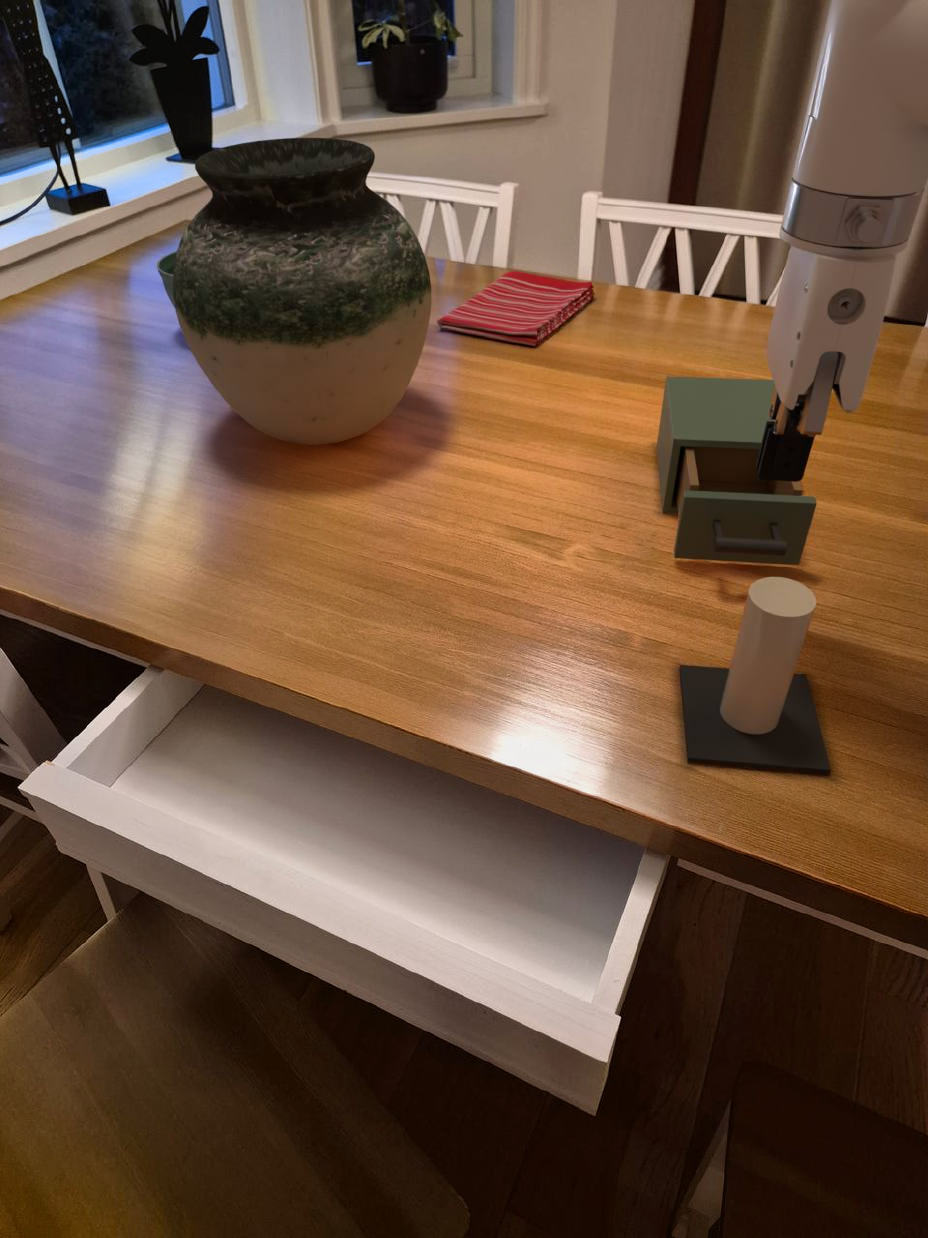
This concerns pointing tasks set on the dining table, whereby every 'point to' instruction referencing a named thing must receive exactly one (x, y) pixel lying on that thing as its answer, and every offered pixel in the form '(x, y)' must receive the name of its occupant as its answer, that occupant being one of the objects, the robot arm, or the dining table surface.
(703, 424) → the cabinet
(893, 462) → the dining table surface
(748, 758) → the mat
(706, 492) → the drawer
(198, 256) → the vase
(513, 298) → the dish towel
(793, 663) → the cylinder
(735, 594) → the dining table surface
